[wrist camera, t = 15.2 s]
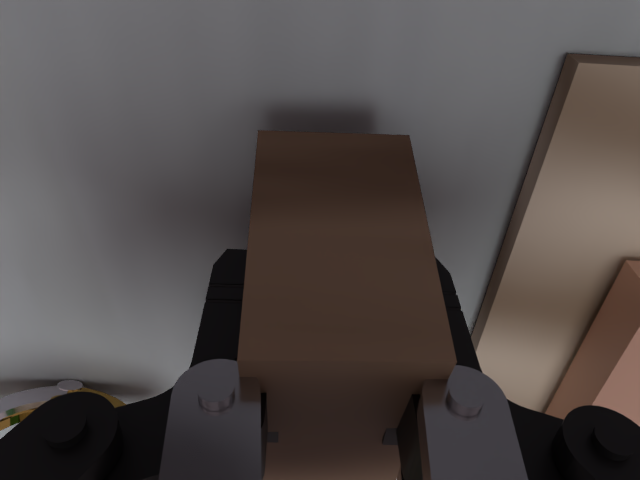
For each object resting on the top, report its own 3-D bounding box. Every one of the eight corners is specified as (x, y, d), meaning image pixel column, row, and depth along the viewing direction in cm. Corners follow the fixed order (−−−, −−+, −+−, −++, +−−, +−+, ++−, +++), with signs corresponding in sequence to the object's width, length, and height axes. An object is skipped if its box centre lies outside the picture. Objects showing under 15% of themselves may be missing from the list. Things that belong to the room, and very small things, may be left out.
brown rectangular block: (180, 127, 10) (123, 359, 7) (482, 137, 11) (563, 362, 7) (223, 369, 18) (204, 536, 15) (399, 371, 18) (420, 534, 15)
